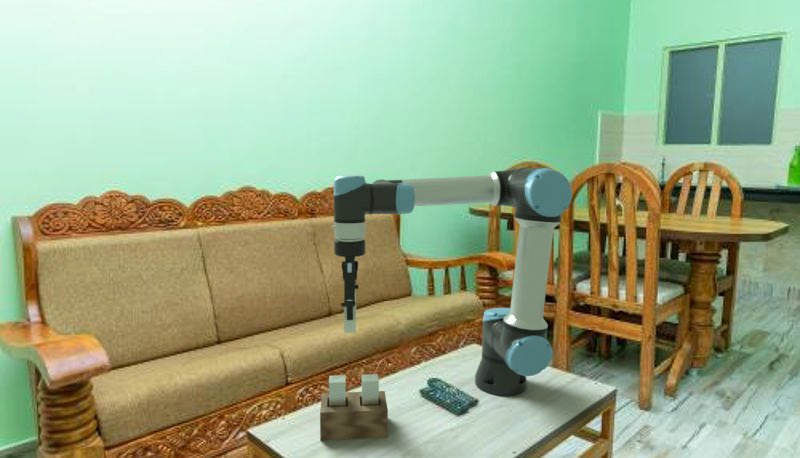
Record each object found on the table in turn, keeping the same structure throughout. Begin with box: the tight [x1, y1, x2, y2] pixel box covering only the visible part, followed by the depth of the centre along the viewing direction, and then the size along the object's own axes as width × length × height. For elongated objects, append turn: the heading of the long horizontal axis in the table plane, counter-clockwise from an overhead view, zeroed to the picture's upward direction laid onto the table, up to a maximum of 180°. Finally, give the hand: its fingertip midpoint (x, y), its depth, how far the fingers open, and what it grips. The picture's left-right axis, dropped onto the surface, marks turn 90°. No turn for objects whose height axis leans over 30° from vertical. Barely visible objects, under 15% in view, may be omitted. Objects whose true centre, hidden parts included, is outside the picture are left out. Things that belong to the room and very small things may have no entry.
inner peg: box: [361, 373, 380, 406], centre depth 128 cm, size 4×4×6 cm
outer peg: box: [328, 374, 347, 407], centre depth 127 cm, size 4×4×6 cm
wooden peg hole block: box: [319, 390, 389, 441], centre depth 129 cm, size 16×10×7 cm, turn 96°
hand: (350, 322), depth 130 cm, fingers open, 13 cm apart
